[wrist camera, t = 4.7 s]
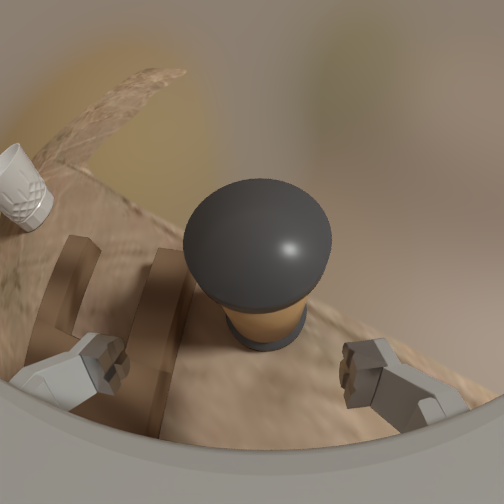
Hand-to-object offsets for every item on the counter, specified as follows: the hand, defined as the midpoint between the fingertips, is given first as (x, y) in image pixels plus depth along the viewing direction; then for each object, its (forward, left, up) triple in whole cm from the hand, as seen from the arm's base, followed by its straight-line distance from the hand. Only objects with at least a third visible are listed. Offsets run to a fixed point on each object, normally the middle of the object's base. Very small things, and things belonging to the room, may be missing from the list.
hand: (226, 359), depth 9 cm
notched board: (-1, +13, -10) cm, 16 cm away
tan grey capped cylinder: (+5, 0, -10) cm, 11 cm away
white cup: (+12, +33, -10) cm, 36 cm away
